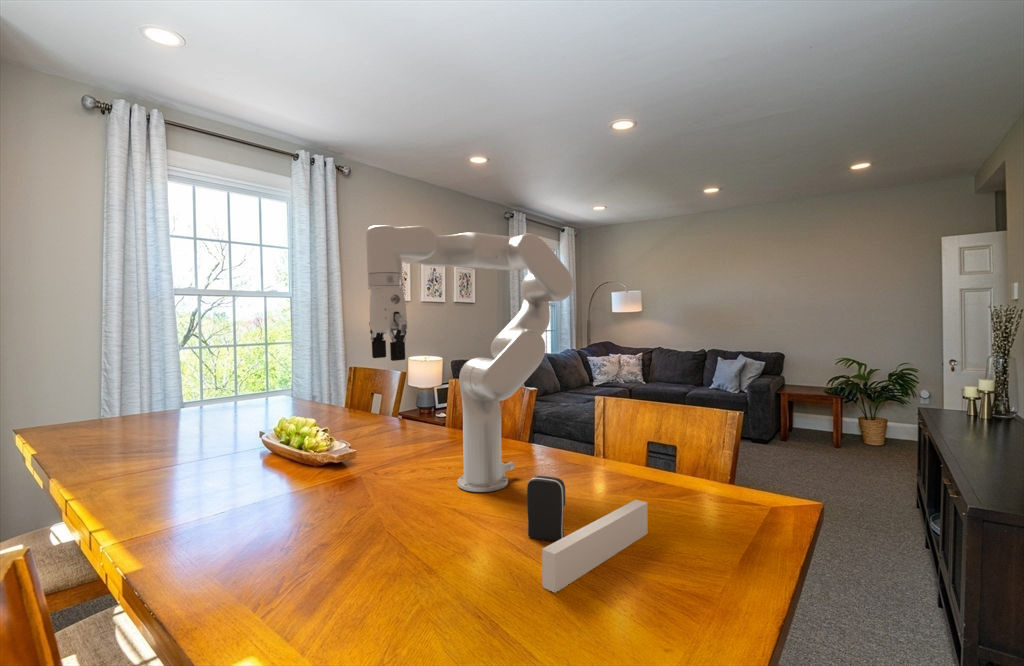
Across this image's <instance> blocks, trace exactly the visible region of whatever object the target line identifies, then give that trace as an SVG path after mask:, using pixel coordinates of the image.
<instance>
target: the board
mask: <svg viewBox="0 0 1024 666" xmlns="http://www.w3.org/2000/svg"><path fill="white" fill-rule="evenodd" d="M648 532H649V531H648V502H646V501H643V500H638V499H634V500H632V501H630V502H628V503H626V504H624V505H623V506H621V507H619V508H616V509H615V510H613V511H611V512H609V513H607V514H606V515H604V516H602V517H600V518H598V519H596V520H595V521H592V522H590V523H589V524H587V525H584V526H583V527H581V528H578V529H577V530H575V531H573V532H571V533H569V534H567V535H566V536H564V537H563V538H562V539H560V540H558V541H556V542H552V543H551V544H548V545H547V546H545V547H542V549H541V569H542V570H541V572H542V573H541V575H542V576H541V579H542V580H541V581H542V584H541V585H542V588H543V589H546V590H547V591H550V592H551V591H552V593H553V592H554V593H553V594H556V593H557V591H558V592H559V591H561V590H562V589H564V588H565V587H567V586H569V585H570V584H571V583H573V582H575V581H576V580H578V579H579V578H581V577H582V576H584V575H586V574H587V573H589V572H590V571H592V570H594V568H596V567H597V568H598V566H599V565H601V564H603V563H604V562H606V561H608V560H609V559H611V558H612V557H613V556H615V555H617V554H618V553H620V552H621V551H623V550H625V549H626V548H628V547H629V546H631V545H632V544H634V543H636V542H637V541H638V540H640V539H642V538H643V537H644V536H646V535H648ZM568 584H569V585H568Z"/></svg>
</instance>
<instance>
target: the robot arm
mask: <svg viewBox="0 0 1024 666" xmlns="http://www.w3.org/2000/svg"><path fill="white" fill-rule="evenodd" d="M365 234H366V235H365V241H366V244H365V245H366V262H367V263H366V265H367V269H366V270H367V290H370V292H369V293H370V294H369V321H368V325H369V328H370V330H369V333H370V335H371V336H370V340H371V357H372V358H373V359H382V358H386V357H387V343H386V342H387V341H386V340H385V337H386V334H388V335H389V337H390V342H389V348H390V349H389V350H390V351H389V353H390V361H392V362H394V361H397V362H398V361H404V360H406V335H407V330H408V317H407V315H408V314H407V305H406V299H405V293H404V286H403V285H404V284H403V282H404V281H403V279H404V278H403V263H406V264H410V265H422V266H439V267H455V268H456V267H457V268H476V269H477V268H478V269H489V270H501V271H502V270H503V271H521V270H525V269H527V270H528V271H529V273H527V274H526V276H524V277H523V280H522V282H521V285H520V287H521V288H520V289H521V290H520V291H521V298H522V299H521V302H522V303H521V307H520V310H519V311H518V313H517V314H516V315H515V317H513V318H512V319H511V321H510V322H508V323H507V325H506V326H505V327H504V328H502V330H501V331H500V332H499V333H498V334H497V335H496V336H495V337H494V339H493V340H492V342H491V346H490V352H491V356H492V357H493V358H489V357H488V358H487V357H475V358H471V359H469V360H468V361H466V362H465V363H464V364H463V365H462V367H461V369H460V371H459V376H458V377H459V378H458V379H459V381H458V385H459V389H460V390H459V391H460V396H461V402H462V404H461V405H462V445H463V446H462V450H463V452H462V455H463V457H462V458H463V475H462V476H460V477H458V479H457V486H458V487H459V489H462V490H464V491H467V492H472V493H473V492H474V493H487V492H488V493H489V492H494V491H500V490H502V489H504V488H506V487H507V486H508V484H509V478H508V477H507V476H506V475H505V473H507V472H508V471H511V470H512V471H513V470H514V469H515V463H514V462H513V461H509V462H506V463H504V462H503V461H502V460H503V459H502V410H501V408H502V407H501V403H500V402H502V401H505V400H507V399H509V398H511V397H512V396H513V395H514V394H515V393H516V392H517V391H518V390H519V389H520V388H521V387H522V385H524V384H525V382H526V381H527V380H528V379H529V378H530V376H531V375H532V374H533V373H534V372H535V371H536V370H537V368H538V367H539V366H540V365H541V364H542V361H543V359H544V357H545V354H546V342H545V339H544V338H543V334H544V333H545V332H546V330H547V329H548V327H549V324H550V319H551V315H550V314H551V313H550V302H551V303H552V302H561V301H563V300H564V301H565V300H566V299H568V297H570V295H571V294H572V292H573V289H574V280H573V276H572V275H571V272H570V271H569V269H568V268H567V267H566V266H565V265H564V263H563V262H562V261H561V259H560V258H559V257H558V256H557V254H556V253H555V252H554V251H553V250H552V249H551V248H550V246H549V245H548V244H547V243H546V242H545V241H544V240H543V239H542V238H541V237H540V236H538V235H536V234H534V233H531V232H530V233H529V232H526V233H522V234H520V235H516V236H507V235H500V234H499V235H498V234H490V233H483V232H475V231H474V232H473V231H472V232H471V231H470V232H462V233H457V234H450V235H449V234H448V235H437V234H436V232H435V231H434V230H433V229H431V228H430V227H427V226H424V225H412V226H393V225H387V224H386V225H381V224H379V225H372V226H369V227H368V228H367V230H366V233H365Z"/></svg>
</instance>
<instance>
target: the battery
mask: <svg viewBox="0 0 1024 666" xmlns="http://www.w3.org/2000/svg"><path fill="white" fill-rule="evenodd" d="M526 501H527V502H526V507H527V508H526V509H527V510H526V511H527V536H528V537H529V538H532V539H535V540H542V541H546V542H548V541H549V542H552V543H554V542H556V541H558V540H560V539H562V538H564V537H565V535H564V533H565V530H564V510H565V506H566V485H565V482H564V481H563V480H562V479H560V478H558V477H554V476H553V477H552V476H547V475H535V476H534V477H532V478H531V479H529V481H528V482H527V486H526Z"/></svg>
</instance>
